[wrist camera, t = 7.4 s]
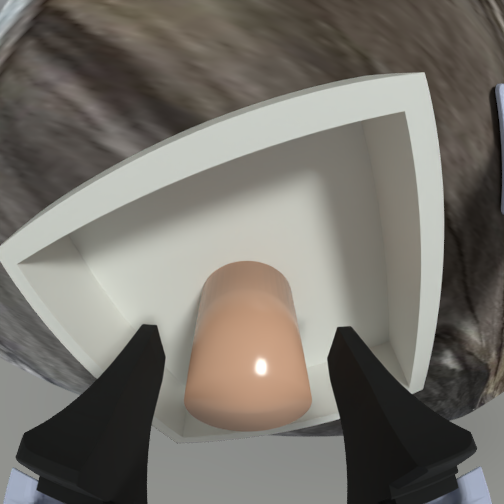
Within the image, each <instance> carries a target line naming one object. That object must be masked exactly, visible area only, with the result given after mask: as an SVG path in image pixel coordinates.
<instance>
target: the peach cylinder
mask: <svg viewBox="0 0 504 504" xmlns="http://www.w3.org/2000/svg"><path fill="white" fill-rule="evenodd" d="M311 404H312V396H311V390H310V384H309V379H308V373H307V368H306V362H305V357H304V352H303V346H302V341H301V336H300V331H299V326H298V321H297V316H296V311H295V306H294V301H293V296H292V291H291V287H290V284H289V282H288V281H287V279H286V278H285V276H284V275H283V274H282V273H281V272H279V271H278V270H277V269H275V268H274V267H272V266H269V265H267V264H264V263H261V262H256V261H238V262H233V263H230V264H227V265H224V266H222V267H220V268H219V269H217V270H216V271H214V272H213V273H212V274H211V275H210V276H209V277H208V278H207V280H206V282H205V284H204V286H203V289H202V294H201V300H200V305H199V311H198V316H197V322H196V327H195V333H194V339H193V345H192V351H191V357H190V363H189V369H188V376H187V382H186V389H185V396H184V405H185V407H186V409H187V411H188V412H189V413H190V414H191V415H192V416H193V417H195V418H196V419H198V420H199V421H201V422H203V423H205V424H208V425H210V426H213V427H216V428H220V429H225V430H231V431H242V432H253V431H264V430H270V429H274V428H278V427H282V426H285V425H287V424H290V423H292V422H294V421H296V420H297V419H299V418H300V417H302V416H303V415H304V414H305V413H306V412H307V411H308V410H309V408H310V407H311Z"/></svg>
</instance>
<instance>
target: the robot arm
mask: <svg viewBox="0 0 504 504" xmlns="http://www.w3.org/2000/svg"><path fill="white" fill-rule="evenodd" d="M495 94H496V100H497V107H498V114H499V123H500V134H501V149H502V199H501V212H502V214H503V215H504V84H497V85H496V88H495ZM165 359H166V356H165V353H164V349H163V346H162V342H161V338H160V334H159V331H158V327H157V325H150V324H142V325H141V326H140V328H139V329H138V330H137V332H136V333H135V334H134V336H133V337H132V338H131V340H130V341H129V342H128V343H127V345H126V346H125V347H124V349H123V350H122V351H121V352H120V353H119V355H118V356H117V357H116V358H115V360H114V361H113V362H112V363H111V364H110V366H109V367H108V368H107V369H106V370H105V371H104V372H103V373H102V374H101V376H100V377H99V378H98V379H97V380H96V381H95V382H94V383H93V384H92V385H91V386H90V387H89V388H88V389H87V390H86V391H85V392H84V393H83V394H81V395H80V396H79V397H78V398H77V399H76V400H74V401H73V402H72V403H71V404H70V405H68V406H67V407H66V408H64V409H63V410H62V411H60V412H59V413H57V414H56V415H55V416H53V417H52V418H50V419H49V420H47V421H46V422H44V423H42V424H40V425H39V426H37V427H35V428H33V429H31V430H29V431H27V432H25V433H24V435H23V438H22V440H21V443H20V446H19V449H18V452H17V455H16V459H17V461H18V462H19V463H21V464H22V465H23V466H25V467H27V468H28V469H30V470H31V471H33V472H34V473H36V474H38V475H39V476H40V477H39V481H38V480H36V479H34V478H32V477H31V476H29V475H27V474H25V473H23V472H21V471H19V470H18V469H16V468H12V471H11V474H10V478H9V482H8V485H7V490H6V494H5V498H4V502H3V504H147V463H148V449H149V439H150V431H151V425H152V420H153V416H154V412H155V408H156V404H157V400H158V396H159V392H160V388H161V384H162V380H163V374H164V367H165ZM327 362H328V370H329V377H330V382H331V386H332V390H333V393H334V397H335V401H336V405H337V408H338V412H339V416H340V420H341V424H342V429H343V435H344V443H345V452H346V464H347V485H348V486H347V492H348V493H347V504H492V502H491V498H490V494H489V491H488V487H487V484H486V481H485V477H484V474H483V471H482V468H481V467H480V466H479V467H477V468H475V469H474V470H472V471H470V472H468V473H466V474H465V475H463V476H461V477H459V478H457V479H456V477H455V474H456V473H458V469H457V465H459V464H460V463H462V462H463V461H465V460H466V459H467V458H469V457H470V456H472V455H473V454H474V453H475V452H476V450H477V447H476V444H475V442H474V439H473V437H472V434H471V432H469V431H467V430H465V429H463V428H461V427H459V426H457V425H455V424H453V423H452V422H450V421H448V420H447V419H445V418H443V417H442V416H440V415H439V414H437V413H436V412H434V411H433V410H431V409H430V408H429V407H427V406H426V405H425V404H423V403H422V402H421V401H419V400H418V399H417V398H416V397H415V396H413V395H412V394H411V393H410V392H409V391H408V390H407V389H406V388H405V387H403V386H402V385H401V384H400V383H399V382H398V381H397V380H396V379H395V378H394V376H393V375H392V374H391V373H390V372H389V371H388V370H387V369H386V368H385V367H384V365H383V364H382V363H381V362H380V361H379V360H378V358H377V357H376V356H375V355H374V354H373V353H372V351H371V350H370V349H369V348H368V346H367V345H366V344H365V343H364V341H363V340H362V339H361V338H360V336H359V335H358V334H357V333H356V331H355V330H354V329H353V328H352V327H351V326H344V327H337V329H336V333H335V336H334V339H333V342H332V345H331V348H330V351H329V354H328V357H327Z"/></svg>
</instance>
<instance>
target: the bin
mask: <svg viewBox="0 0 504 504" xmlns="http://www.w3.org/2000/svg"><path fill="white" fill-rule="evenodd" d="M443 254H444V199H443V182H442V169H441V159H440V151H439V143H438V136H437V129H436V123H435V118H434V112H433V107H432V102H431V97H430V93H429V89H428V84H427V80H426V76H425V73H396V74H381V75H369V76H361V77H356V78H351V79H346V80H341V81H336V82H332V83H328V84H323V85H319V86H315V87H311V88H307V89H303V90H300V91H296V92H292V93H289V94H285V95H282V96H279V97H275V98H272V99H269V100H266V101H262V102H259V103H256V104H253V105H250V106H247V107H244V108H242V109H239V110H236V111H233V112H230V113H228V114H225V115H222V116H220V117H217V118H215V119H212V120H210V121H207V122H205V123H202V124H200V125H197V126H195V127H192V128H190V129H188V130H185V131H183V132H181V133H179V134H176V135H174V136H172V137H170V138H167V139H165V140H163V141H161V142H159V143H157V144H155V145H153V146H151V147H149V148H147V149H144V150H142V151H140V152H139V153H137V154H135V155H133V156H131V157H129V158H127V159H125V160H123V161H121V162H119V163H118V164H116V165H114V166H112V167H110V168H109V169H107V170H105V171H103V172H101V173H100V174H98V175H96V176H95V177H93V178H91V179H90V180H88V181H86V182H85V183H83V184H81V185H80V186H78V187H76V188H75V189H73V190H72V191H70V192H69V193H67V194H65V195H64V196H62V197H61V198H59V199H58V200H56V201H55V202H53V203H52V204H50V205H49V206H48V207H46V208H45V209H44V210H42V211H41V212H40V213H38V214H37V215H36V216H35V217H33V218H32V219H31V220H30V221H28V222H27V223H26V224H25V225H24V226H22V227H21V228H20V229H19V230H18V231H16V232H15V233H14V234H13V235H12V236H11V237H10V238H8V239H7V240H6V241H5V242H4V243H3V244H2V245H1V246H0V261H1V263H2V265H3V266H4V268H5V269H6V271H7V272H8V274H9V275H10V277H11V278H12V280H13V281H14V283H15V284H16V286H17V287H18V289H19V290H20V291H21V293H22V294H23V296H24V297H25V298H26V300H27V301H28V302H29V304H30V305H31V306H32V308H33V309H34V310H35V312H36V313H37V314H38V315H39V317H40V318H41V319H42V320H43V322H44V323H45V324H46V325H47V326H48V328H49V329H50V330H51V331H52V332H53V334H54V335H55V336H56V337H57V338H58V339H59V340H60V342H61V343H62V344H63V345H64V346H65V347H66V348H67V349H68V350H69V351H70V352H71V354H72V355H73V356H74V357H75V358H76V359H77V360H78V361H79V362H80V363H81V364H82V365H83V366H84V367H85V368H86V369H87V370H88V371H89V372H90V373H91V374H92V375H93V376H94V377H95V378H96V379H98V378H99V377H100V376H101V374H102V373H103V372H104V371H105V370H106V369H107V368H108V367H109V366H110V364H111V363H112V362H113V361H114V360H115V358H116V357H117V356H118V355H119V353H120V352H121V351H122V350H123V349H124V347H125V346H126V345H127V343H128V342H129V341H130V340H131V338H132V337H133V336H134V334H135V333H136V332H137V330H138V329H139V328H140V326H141V325H142V324H150V325H157V327H158V331H159V334H160V338H161V342H162V346H163V349H164V353H165V356H166V359H165V367H164V374H163V380H162V384H161V388H160V392H159V396H158V400H157V404H156V408H155V412H154V416H153V420H152V426H154V427H155V428H156V429H158V430H159V431H161V432H162V433H163V434H165V435H166V436H168V437H169V438H170V439H172V440H173V441H175V442H176V443H198V442H213V441H225V440H234V439H241V438H250V437H257V436H264V435H270V434H276V433H281V432H287V431H292V430H297V429H301V428H306V427H310V426H314V425H319V424H323V423H326V422H330V421H334V420H338V419H340V416H339V412H338V408H337V405H336V401H335V397H334V393H333V390H332V386H331V382H330V377H329V370H328V362H327V357H328V354H329V351H330V348H331V345H332V342H333V339H334V336H335V333H336V329H337V327H344V326H351V327H352V328H353V329H354V330H355V331H356V333H357V334H358V335H359V336H360V338H361V339H362V340H363V341H364V343H365V344H366V345H367V346H368V348H369V349H370V350H371V351H372V353H373V354H374V355H375V356H376V357H377V358H378V360H379V361H380V362H381V363H382V364H383V365H384V367H385V368H386V369H387V370H388V371H389V372H390V373H391V374H392V375H393V376H394V378H395V379H396V380H397V381H398V382H399V383H400V384H401V385H402V386H403V387H405V388H406V389H407V390H408V391H409V392H410V393H411V394H413V393H415V392H418V391H420V390H422V389H423V387H424V383H425V379H426V375H427V371H428V366H429V362H430V357H431V352H432V347H433V342H434V337H435V331H436V325H437V318H438V311H439V303H440V294H441V284H442V272H443ZM238 261H256V262H261V263H264V264H267V265H269V266H272V267H274V268H275V269H277V270H278V271H279V272H281V273H282V274H283V275H284V276H285V278H286V279H287V281H288V282H289V284H290V287H291V291H292V296H293V301H294V306H295V311H296V316H297V321H298V326H299V331H300V336H301V341H302V346H303V352H304V357H305V362H306V368H307V373H308V379H309V384H310V390H311V396H312V404H311V407H310V408H309V410H308V411H307V412H306V413H305V414H304V415H303V416H302V417H300V418H299V419H297V420H296V421H294V422H292V423H290V424H287V425H285V426H282V427H278V428H274V429H270V430H264V431H253V432H242V431H231V430H225V429H220V428H216V427H213V426H210V425H208V424H205V423H203V422H201V421H199V420H198V419H196V418H195V417H193V416H192V415H191V414H190V413H189V412H188V411H187V409H186V407H185V405H184V396H185V389H186V382H187V376H188V369H189V363H190V357H191V351H192V345H193V339H194V333H195V327H196V322H197V316H198V311H199V305H200V300H201V294H202V289H203V286H204V284H205V282H206V280H207V278H208V277H209V276H210V275H211V274H212V273H213V272H214V271H216V270H217V269H219V268H220V267H222V266H224V265H227V264H230V263H233V262H238Z"/></svg>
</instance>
